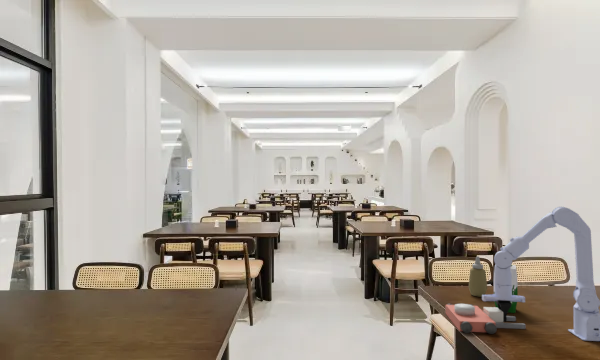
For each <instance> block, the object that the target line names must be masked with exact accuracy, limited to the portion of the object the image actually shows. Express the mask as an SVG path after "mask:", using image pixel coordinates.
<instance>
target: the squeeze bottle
mask: <svg viewBox="0 0 600 360" xmlns="http://www.w3.org/2000/svg"><path fill="white" fill-rule="evenodd" d="M481 263H482V262H481V259H480V256H478V255H477V256H476V257H475V260H474V263H472V268H471V269H470V271H469V277H468V289H469V292H470V294H471V296H473V297H478V298H479V297H480V298H482V295H487V294H486V293H487V290H488V283H487V282H488V281H487V275H486V274H487V272H486V269H484V264H483V263H482V264H481Z"/></svg>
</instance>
